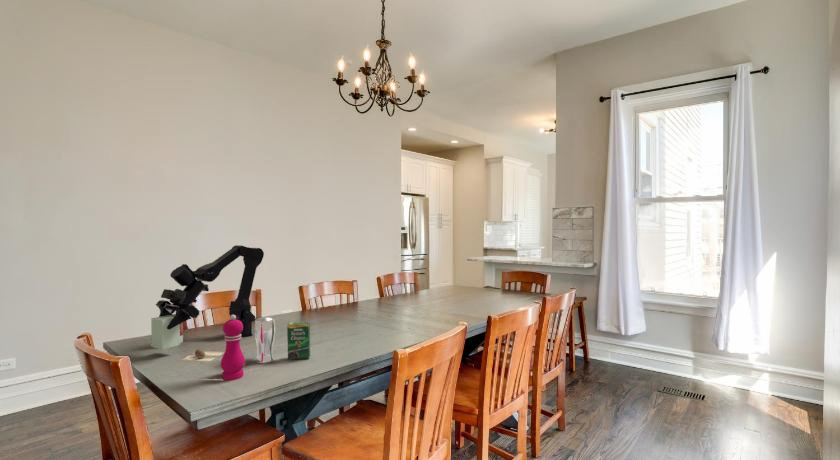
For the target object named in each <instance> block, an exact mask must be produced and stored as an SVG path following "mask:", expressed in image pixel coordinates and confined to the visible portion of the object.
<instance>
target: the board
mask: <svg viewBox="0 0 840 460" xmlns="http://www.w3.org/2000/svg"><path fill="white" fill-rule="evenodd" d="M202 351H203V350H202ZM203 352H204V353H205V357H204V358H202V359H199V358H198V357H197V356H195V352H193V353H192V354H190V355H187V356H186V357H184V358H182V359H181V361H189V362H190V361H191V362H192V361H197V362H211V361H212V360H214V359H216V358H218V357H220V356H222V355H224V353H225V351H211V350H210V351H203Z"/></svg>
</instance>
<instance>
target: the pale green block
mask: <svg viewBox="0 0 840 460" xmlns="http://www.w3.org/2000/svg"><path fill="white" fill-rule="evenodd" d="M173 318H174V316H172V315H166V316H161V317H159V316H156V317H151V325H150V326H151V328H150V331H151V332H150V333H151V348H154V349H158V350H166V349H169V348H174V347H176V346H177V347H178V346H180V345H181V344H180V324H179V325H177V326H175V327H173V328H172V329H170V330H168V329H167V327H168V325H169V323H170V322H171V321H172V319H173Z"/></svg>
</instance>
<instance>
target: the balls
mask: <svg viewBox="0 0 840 460" xmlns="http://www.w3.org/2000/svg"><path fill="white" fill-rule="evenodd" d="M194 353H195V356H197V357H198V358H199V359H202V358H204V357H205V353H204V352H203V350H202V349H199V348H198V349H196V350H195V351H194Z"/></svg>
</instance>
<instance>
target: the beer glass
mask: <svg viewBox="0 0 840 460" xmlns="http://www.w3.org/2000/svg"><path fill="white" fill-rule="evenodd" d="M254 324H255V325H254V338H255V345H256V352H257V353H256V359H255V363H258V364H269V363H272V362H274V361H275V357H274V351H273V350H274V343H275V337H276V319H275V318H274V317H267V316H266V317H258V318H255V321H254Z"/></svg>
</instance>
